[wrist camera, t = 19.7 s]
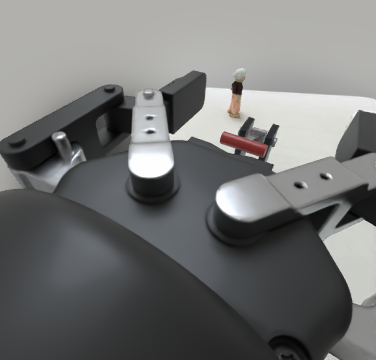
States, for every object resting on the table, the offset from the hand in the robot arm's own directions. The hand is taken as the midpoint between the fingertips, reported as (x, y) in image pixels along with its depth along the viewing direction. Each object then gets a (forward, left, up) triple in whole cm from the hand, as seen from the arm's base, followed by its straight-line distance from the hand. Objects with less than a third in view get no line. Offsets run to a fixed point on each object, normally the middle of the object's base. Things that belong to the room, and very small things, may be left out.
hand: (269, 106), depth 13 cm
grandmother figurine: (-24, -47, -28) cm, 60 cm away
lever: (-9, -14, -14) cm, 21 cm away
